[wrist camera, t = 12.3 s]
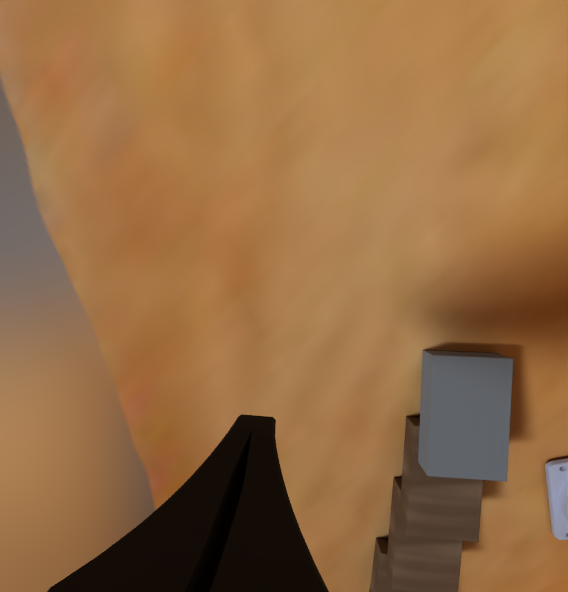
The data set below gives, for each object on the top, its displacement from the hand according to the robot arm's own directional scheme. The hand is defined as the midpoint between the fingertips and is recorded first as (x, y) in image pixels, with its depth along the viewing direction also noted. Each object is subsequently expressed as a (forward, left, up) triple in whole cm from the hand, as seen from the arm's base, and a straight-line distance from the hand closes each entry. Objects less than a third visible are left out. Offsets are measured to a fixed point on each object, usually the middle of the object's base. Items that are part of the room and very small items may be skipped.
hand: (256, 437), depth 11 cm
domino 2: (-7, +16, -10) cm, 20 cm away
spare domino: (-12, +5, -10) cm, 16 cm away
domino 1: (-9, +10, -10) cm, 17 cm away
